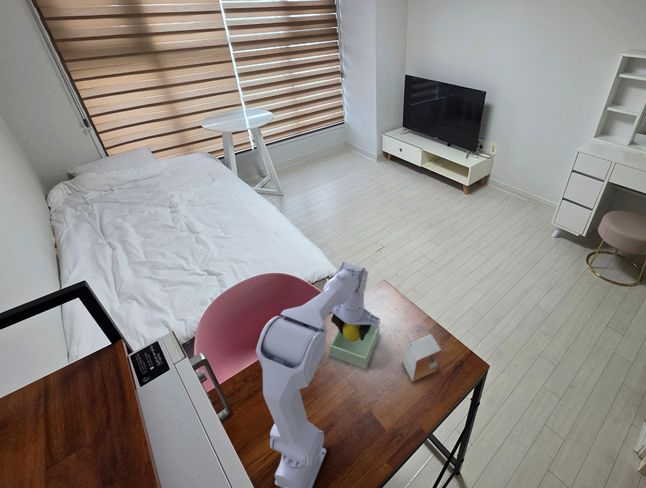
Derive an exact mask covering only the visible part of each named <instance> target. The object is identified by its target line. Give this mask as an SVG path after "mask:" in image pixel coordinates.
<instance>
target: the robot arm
mask: <svg viewBox="0 0 646 488" xmlns="http://www.w3.org/2000/svg"><path fill="white" fill-rule="evenodd" d="M368 276H369V271H368V270H366V268H365V267H364V266H360V265H357V264H353V263H350V262H344V261H342V262H341V263H340V264H339V266H338V268H337V270H336V271H335V274H334V276H332V277H331V278H330V279H329V280H327V281H326V283H324V285H323V289H322V292H321V293H319V294H318V295H316V296H315V297H313V298H311V299H310V300H309V301H307V302H306V303H304V304H302V305H300V306H295V307H291V308H287V309H284V310H283V311H281V313H280V315H281V316H280V315H276V316H273V317H272V318H271V319H270V320H269V321H267V323H266V324H265V325H264V327H263V328H262V331H261V332H260V336H259V339H258V341H257V344H256V349H255V354H256V356H257V358H258V359H257V360H258V362H259V364H260V367H261V369H262V394H263V399H264V401H265V403H266V405H267V408H268V410H269V412H270V415H271V417H272V419H273V423H274V424H273V426H272V427H271V429H270V433H269V436H270V438H269V448H270V449H271V450H273V451H276V452H279V453H280V454H281V457H280V462H279V465H278V467H277V469H276V471H275V473H274V479H275V481H274V484H275V485H276V486H277V487H279V488H313V487H314V483H315V481H316V479H317V476H318V474H319V471H320V469H321V466H322V463H323V461H324V459H325V456H326V453H327V449H326V448H325V447H323V445H324V442H325V435H324V434H325V433H324V431H323V430H320V429H319V428H318V427H317V426H316V425H314V424H313V423H312V422H310V421H309V420H308V417H307V413H306V408H305V405H304V401H303V397H302V394H301V389H305V388H308V387H309V385H310V383H311V382H312V380H313V378H314V376H315V373H316V372H317V368H318V366H319V364H320V361H321V360H322V357H323V355H324V352H325V348H326V344H327V325H326V323H325V321H326V319H327V318H328V316H329V315H330V314H332V316H331V319H330V321H331V323H332V324H334V325H335V326H336V328H337V330H338V329H339V331H340V333H342V334H343V325H344V323H347V324H350V325H361V326H360V328H359V332H360V335H361V336H360V339H361V340H362V341H363V340H364V338H365V335H366V334H367V333H368V332H369V330H370V327H371V325H374V328H376V329H378V326H379V327H380V324H381V317H378V316H376V315H375V314H373V313H371V312H370V311H369V310H367V309H366V308H365V290H366V287H367V281H368V278H369V277H368Z"/></svg>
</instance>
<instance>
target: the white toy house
mask: <svg viewBox="0 0 646 488" xmlns="http://www.w3.org/2000/svg"><path fill="white" fill-rule="evenodd" d="M441 354H442V349H441V347H440V346H439V344H438V342H437V340H436V338H434V336H433V334H432V333H429V334H427V335H425V336H422V337H420V338H418V339H415V340H412V341H410V342H407V343H406V345H405V353H404V360H403V366H404V368H405V370H406V372H407V374H408V376H409V378H410V379H411V380H410V381H412V383H413V382H416V381H418V380H420V379H422V378H425V377H426V376H428V375H431V374H433V373H436V372H437V370H438V365H439V362H440V358H441V356H442V355H441Z"/></svg>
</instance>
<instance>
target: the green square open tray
mask: <svg viewBox="0 0 646 488" xmlns="http://www.w3.org/2000/svg"><path fill="white" fill-rule="evenodd" d="M379 337H380V325H379V326H378V329H376V328H374V325H371V327H370V330H369V332H368V333H367V334H366V335H365V338H364V340H363V341H362V340H361V339H359V340H357V341H353V342H352V341H349V340H347V339H346V338H345V337H344V334H342V333H340V331H339V329H338V328H337V331H336V332H335V335H334V337H333V339H332V340H331V343H330V345H329V354H330V357H333V358H335V359H338V360H340V361H343V362H346V363H349V364H352V365H355V366H357V367H360V368H363V369H365V370H366V369H367V368H368V365H369V362H370V360H371V357H372V356H373V353H374V349H375V347H376V345H377V342H378V339H379Z"/></svg>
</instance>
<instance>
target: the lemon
mask: <svg viewBox="0 0 646 488" xmlns="http://www.w3.org/2000/svg"><path fill="white" fill-rule="evenodd" d="M360 326H361V325H350V324H347V323H344V325H343V334H344V337H345V338H346V339H347V340H349V341H352V342H353V341H357V340H359V339H360V336H361V335H360V332H359V328H360Z"/></svg>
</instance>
